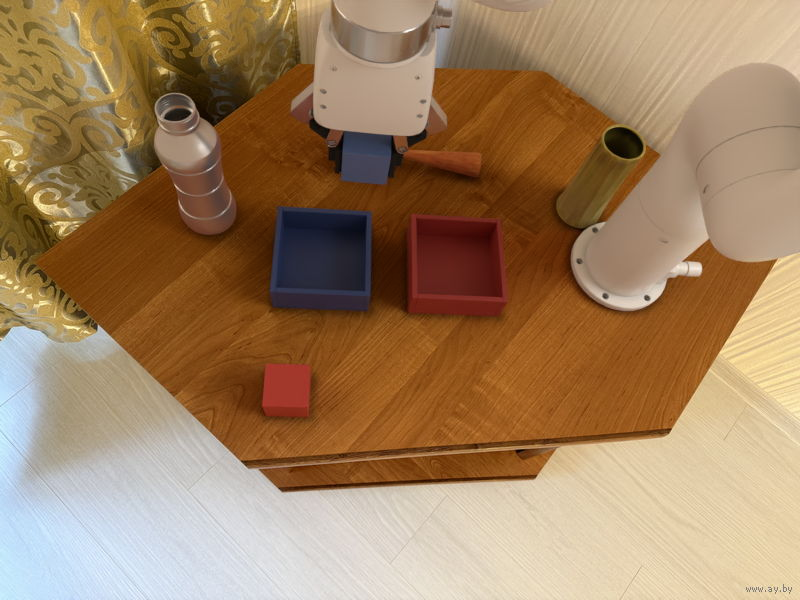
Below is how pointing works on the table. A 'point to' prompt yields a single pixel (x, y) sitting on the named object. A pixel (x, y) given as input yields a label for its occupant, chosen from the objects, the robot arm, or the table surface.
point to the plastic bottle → (193, 165)
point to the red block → (286, 390)
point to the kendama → (449, 160)
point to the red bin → (455, 265)
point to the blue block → (366, 157)
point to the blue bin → (321, 259)
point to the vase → (600, 176)
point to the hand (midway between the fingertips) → (364, 163)
